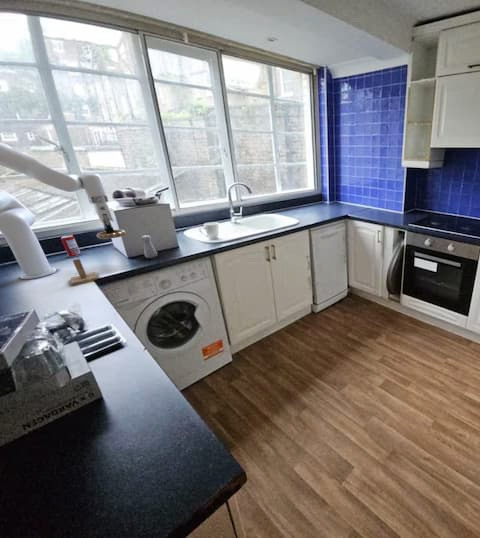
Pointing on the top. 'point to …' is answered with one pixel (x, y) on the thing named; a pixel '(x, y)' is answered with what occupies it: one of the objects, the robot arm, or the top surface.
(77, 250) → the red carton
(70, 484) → the top surface
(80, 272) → the peg stand
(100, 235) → the ring
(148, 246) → the salt shaker
